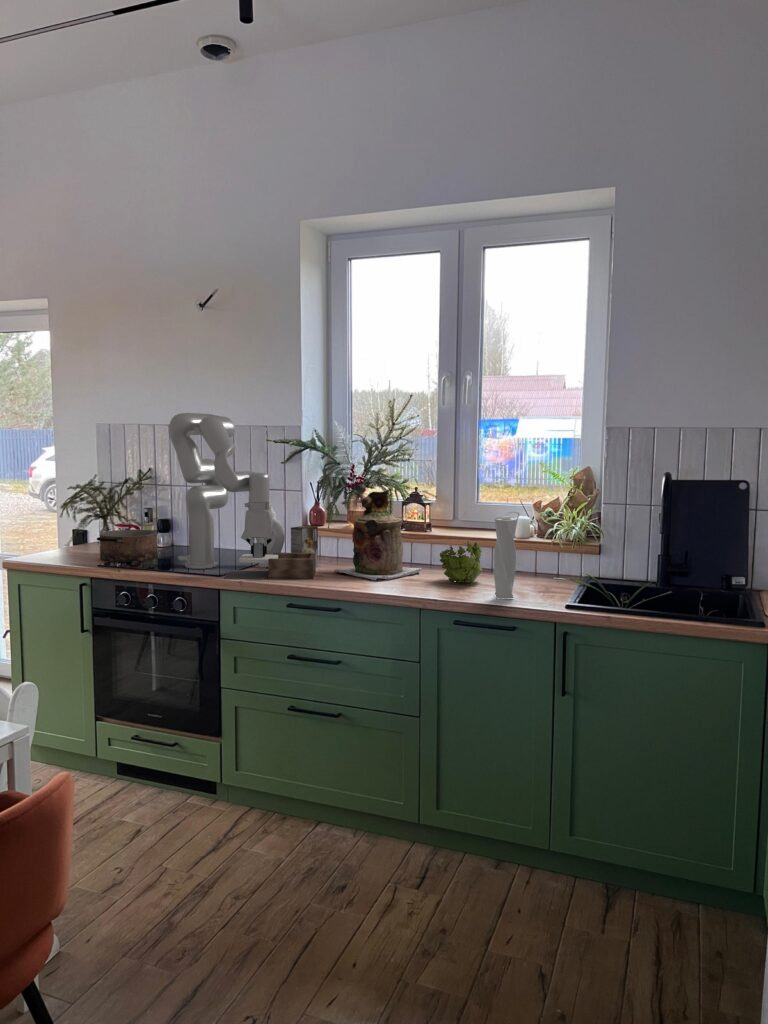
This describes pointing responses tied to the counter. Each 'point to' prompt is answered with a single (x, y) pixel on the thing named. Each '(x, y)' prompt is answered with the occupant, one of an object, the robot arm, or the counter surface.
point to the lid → (257, 555)
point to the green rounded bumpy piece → (462, 563)
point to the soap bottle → (278, 543)
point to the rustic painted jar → (377, 541)
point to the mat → (247, 574)
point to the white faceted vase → (505, 556)
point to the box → (292, 566)
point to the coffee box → (305, 540)
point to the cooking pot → (128, 545)
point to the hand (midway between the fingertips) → (258, 555)
